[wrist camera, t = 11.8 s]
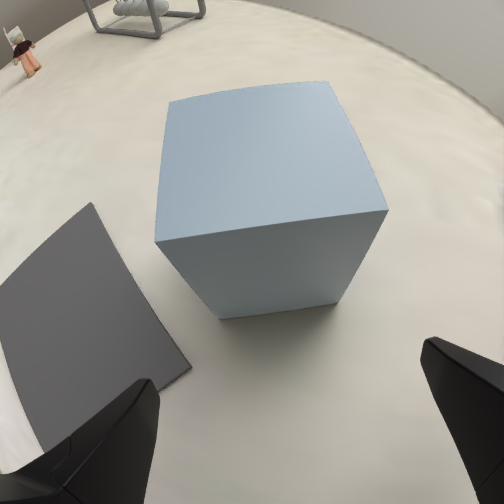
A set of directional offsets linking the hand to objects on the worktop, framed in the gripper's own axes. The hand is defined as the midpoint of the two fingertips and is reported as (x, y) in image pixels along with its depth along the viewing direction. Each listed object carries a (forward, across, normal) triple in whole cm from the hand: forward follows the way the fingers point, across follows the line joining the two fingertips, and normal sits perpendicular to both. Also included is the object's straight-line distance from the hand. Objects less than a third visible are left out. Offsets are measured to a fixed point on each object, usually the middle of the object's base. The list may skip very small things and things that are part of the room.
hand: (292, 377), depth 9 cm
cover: (+11, 0, 0) cm, 11 cm away
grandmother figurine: (+49, +45, -38) cm, 77 cm away
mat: (+9, +16, +2) cm, 18 cm away
